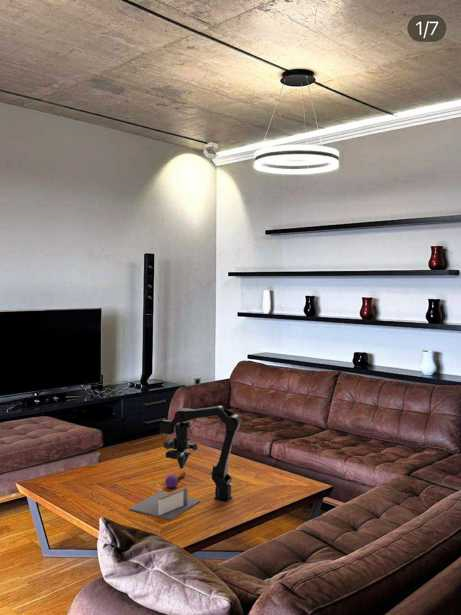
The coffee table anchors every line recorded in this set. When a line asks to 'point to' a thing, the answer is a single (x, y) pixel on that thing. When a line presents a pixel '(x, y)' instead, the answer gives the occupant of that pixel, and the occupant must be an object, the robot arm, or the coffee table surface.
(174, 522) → the coffee table surface
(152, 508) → the flat gray base plate
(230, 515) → the coffee table surface
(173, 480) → the kendama
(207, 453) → the coffee table surface
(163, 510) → the gate
